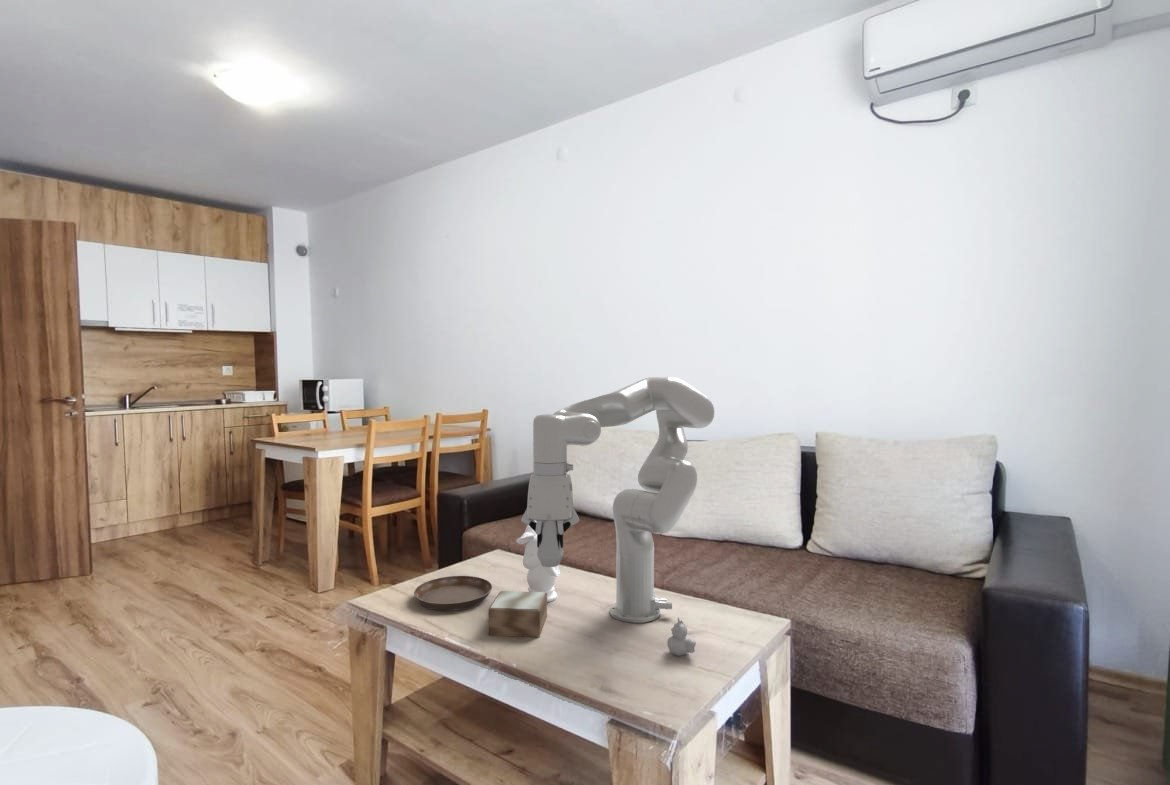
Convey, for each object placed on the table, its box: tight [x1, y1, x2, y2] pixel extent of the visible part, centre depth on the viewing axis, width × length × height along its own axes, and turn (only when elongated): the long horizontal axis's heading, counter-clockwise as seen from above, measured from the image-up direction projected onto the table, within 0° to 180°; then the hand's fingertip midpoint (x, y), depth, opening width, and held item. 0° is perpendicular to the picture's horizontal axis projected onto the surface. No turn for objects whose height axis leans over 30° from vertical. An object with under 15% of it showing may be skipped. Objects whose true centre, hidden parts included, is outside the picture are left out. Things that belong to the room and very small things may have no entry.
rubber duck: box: [667, 617, 697, 657], centre depth 128 cm, size 5×7×8 cm
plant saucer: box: [413, 575, 493, 612], centre depth 161 cm, size 21×21×3 cm
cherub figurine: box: [515, 520, 561, 603], centre depth 161 cm, size 12×12×22 cm
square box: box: [487, 590, 548, 638], centre depth 143 cm, size 12×12×6 cm
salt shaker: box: [537, 514, 564, 567], centre depth 133 cm, size 6×6×13 cm
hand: (550, 550), depth 133 cm, fingers closed on salt shaker, 3 cm apart
